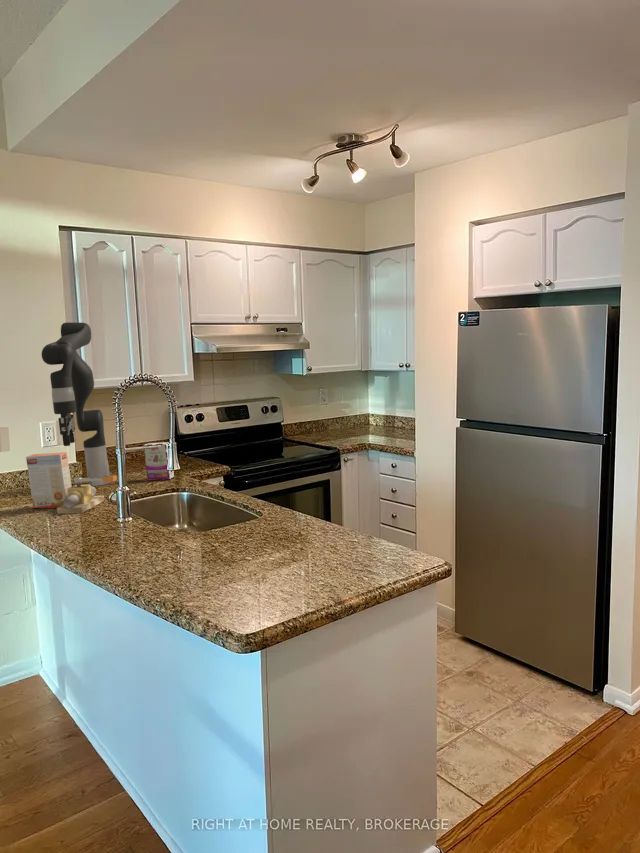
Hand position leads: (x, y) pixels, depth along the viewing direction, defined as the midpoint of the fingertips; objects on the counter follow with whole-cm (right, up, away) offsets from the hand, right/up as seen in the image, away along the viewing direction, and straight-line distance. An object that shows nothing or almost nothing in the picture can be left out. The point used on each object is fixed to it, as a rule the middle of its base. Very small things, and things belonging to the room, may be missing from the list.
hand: (69, 444), depth 229 cm
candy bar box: (+20, -17, +53) cm, 59 cm away
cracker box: (-13, -25, +16) cm, 32 cm away
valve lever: (+6, -15, +10) cm, 19 cm away
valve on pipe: (0, -24, +12) cm, 27 cm away
